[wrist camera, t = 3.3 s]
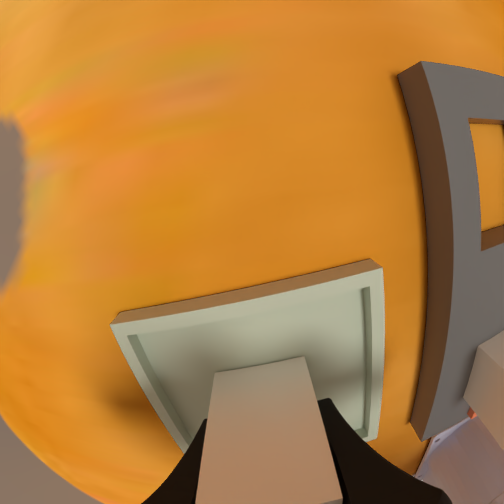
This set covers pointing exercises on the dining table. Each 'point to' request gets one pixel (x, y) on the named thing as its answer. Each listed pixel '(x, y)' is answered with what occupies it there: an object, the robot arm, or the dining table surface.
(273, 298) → the tray
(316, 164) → the dining table surface
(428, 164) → the power strip
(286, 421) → the plug
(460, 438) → the robot arm
